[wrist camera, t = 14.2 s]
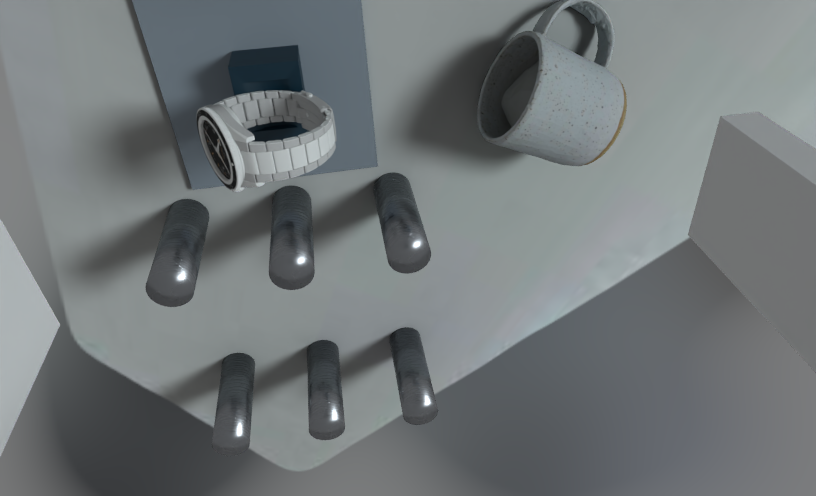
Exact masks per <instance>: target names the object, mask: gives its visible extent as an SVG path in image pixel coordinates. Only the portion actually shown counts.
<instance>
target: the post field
mask: <svg viewBox="0 0 816 496" xmlns="http://www.w3.org/2000/svg"><path fill="white" fill-rule="evenodd" d="M374 196H375V201H376V206H377V211H378V216H379V220H380V225H381V230H382V235H383V240H384V244H385V249H386V254H387V259H388V263H389V265H390V266H391V267H392V268H393V269H394V270H395V271H397V272H400V273H413V272H417V271H419V270H421V269H422V268H424V267H425V266H426V265H427V263H428V262H429V260H430V257H431V250H430V247H429V244H428V241H427V237H426V234H425V231H424V228H423V224H422V221H421V218H420V215H419V211H418V208H417V205H416V202H415V199H414V195H413V192H412V189H411V186H410V183H409V181H408V179H407V178H406V177H405V176H403V175H402V174H399V173H388V174H385V175H383V176H381V177H380V178H379V179H378V180H377V181H376V183H375V185H374ZM208 222H209V213H208V210H207V209H206V207H205V206H204V205H202V204H201V203H200V202H198V201H195V200H191V199H183V200H179V201H177V202H175V203H174V204H173V205H172V206H171V207H170V209H169V212H168V215H167V219H166V222H165V225H164V228H163V232H162V235H161V238H160V241H159V244H158V248H157V251H156V254H155V257H154V260H153V264H152V267H151V270H150V273H149V277H148V280H147V283H146V292H147V294H148V296H149V297H150V298H151V299H152V300H153V301H154V302H156V303H158V304H160V305H163V306H167V307H177V306H181V305H184V304H186V303H187V302H189V301H190V300H191V299H192V297H193V294H194V290H195V285H196V280H197V276H198V271H199V266H200V261H201V256H202V251H203V246H204V242H205V237H206V232H207V227H208ZM269 276H270V279H271V280H272V282H273V283H274V284H275V285H277V286H278V287H280V288H283V289H287V290H296V289H300V288H303V287H305V286H306V285H308V284H309V283H310V282H311V281H312V279H313V277H314V251H313V228H312V206H311V198H310V195H309V194H308V193H307V192H306V191H305V190H304V189H302V188H300V187H297V186H286V187H283V188H281V189H279V190H278V191H277V192H276V193H275V195H274V197H273V205H272V224H271V242H270V261H269ZM390 345H391V351H392V357H393V362H394V368H395V373H396V379H397V384H398V390H399V395H400V401H401V407H402V412H403V417H404V420H405V421H406V422H408V423H410V424H414V425H421V424H425V423H428V422H430V421H432V420H433V419H434V418H435V417H436V416H437V413H438V409H437V405H436V400H435V396H434V392H433V388H432V384H431V379H430V375H429V371H428V367H427V363H426V358H425V354H424V350H423V346H422V342H421V338H420V334H419V332H418V331H417V330H415V329H413V328H401V329H399V330H397V331H395V332H394V333H393V334H392V335H391V337H390ZM307 368H308V410H309V433H310V434H311V436H313V437H314V438H316V439H320V440H330V439H334V438H336V437H338V436H340V435H341V434H342V433H343V432H344V430H345V422H344V410H343V398H342V386H341V374H340V362H339V350H338V347H337V345H336V344H335V343H333V342H331V341H327V340H321V341H317V342H314V343H313V344H311V345H310V346H309V348H308V350H307ZM254 373H255V361H254V359H253V358H252V357H250V356H249V355H247V354H243V353H235V354H231V355H229V356H227V357H226V358H225V359H224V360H223V363H222V370H221V378H220V386H219V394H218V402H217V409H216V417H215V425H214V433H213V440H212V447H213V449H214V450H215V451H216V452H217V453H219V454H222V455H226V456H233V455H238V454H241V453H243V452H245V451H246V450H247V449H248V448H249V444H250V430H251V416H252V401H253V387H254Z"/></svg>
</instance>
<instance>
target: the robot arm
mask: <svg viewBox="0 0 816 496" xmlns="http://www.w3.org/2000/svg"><path fill="white" fill-rule="evenodd" d="M688 235H689V236H690V237H691V239H692V240H693V241H694V242H695V243H696V244H697V245H698V246H699V247H700V248H701V249H702V250H703V251H704V253H705V254H707V256H708V257H709V258H710V259H711V260H712V261H713V262H714V263H715V264H716V266H717V267H718V268H719V269H720V270H721V271H722V272H723V273H724V274H725V275H726V276H727V277H728V278H729V280H730V281H731V282H732V283H733V284H734V285H735V286H736V287H737V288H738V289H739V290H740V291H741V292H742V294H743V295H744V296H745V297H746V298H747V299H748V300H749V301H750V302H751V303H752V304H753V305H754V307H755V308H756V309H757V310H758V311H759V312H760V313H761V314H762V315H763V316H764V317H765V318H766V320H768V322H769V323H770V324H771V325H772V326H773V327H774V328H775V329H776V330H777V331H778V333H780V335H781V336H782V337H783V338H784V339H785V340H786V341H787V342H788V343H789V344H790V346H791V347H792V348H793V349H794V350H795V351H796V352H797V353H798V354H799V355H800V356H801V357H802V358H803V360H804V361H805V362H806V363H807V364H808V365H809V366H810V367H811V368H812V369H813V370H814V371H815V372H816V149H815V148H813V147H812V146H810V145H809V144H807V143H806V142H804V141H803V140H801V139H800V138H798V137H796V136H795V135H793V134H792V133H790V132H789V131H787V130H786V129H784V128H783V127H781V126H780V125H778V124H777V123H775V122H773V121H772V120H770V119H769V118H767V117H766V116H764V115H763V114H761V113H760V112H751V113H743V114H736V115H728V116H720V120H719V124H718V127H717V131H716V135H715V138H714V142H713V145H712V149H711V153H710V156H709V160H708V164H707V167H706V171H705V175H704V178H703V182H702V185H701V189H700V193H699V196H698V200H697V204H696V207H695V211H694V215H693V218H692V222H691V225H690V229H689V233H688ZM59 326H60V324H59V322H58V320H57V318H56V316H55V315H54V313H53V311H52V309H51V308H50V306H49V305H48V303H47V301H46V299H45V297H44V295H43V293H42V292H41V290H40V288H39V286H38V285H37V283H36V281H35V279H34V278H33V276H32V274H31V272H30V271H29V269H28V267H27V265H26V263H25V262H24V260H23V258H22V256H21V254H20V253H19V251H18V249H17V247H16V246H15V244H14V242H13V240H12V239H11V237H10V235H9V233H8V231H7V230H6V228H5V226H4V224H3V223H2V221H1V219H0V456H1V454H2V451H3V449H4V447H5V445H6V443H7V440H8V438H9V436H10V434H11V432H12V429H13V427H14V425H15V423H16V421H17V418H18V416H19V414H20V412H21V410H22V407H23V405H24V403H25V401H26V399H27V396H28V394H29V392H30V390H31V387H32V385H33V383H34V381H35V379H36V377H37V374H38V372H39V370H40V368H41V365H42V363H43V361H44V359H45V357H46V354H47V352H48V350H49V348H50V346H51V343H52V341H53V339H54V336H55V334H56V332H57V330H58V328H59Z"/></svg>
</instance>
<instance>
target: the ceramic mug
mask: <svg viewBox="0 0 816 496" xmlns="http://www.w3.org/2000/svg"><path fill="white" fill-rule="evenodd" d="M569 6H570V7H572V8H574V9H575V10H577V11H578V12H580V13H581V14H583V15H584V16H585V17H587V18H588V20H589V21H590V23H592V24H595V26H596V28H597V33H598V45H597V46H598V50H597V54H596V58H595V61H594V62H592V61H590V60H588V59H586V58H584V57H582V56H580V55H578V54H576V53H574V52H572V51H571V50H569V49H567V48H566V47H564V46H561V45H559V44H557V43H555V42H554V41H552V40H550V39H548V38H547V37H546V33H547V30H548V28H549V26H550V25H551V24H552V22H553V20H554V19H555V18H556V16H557V15H558V14H559V13H560V12H561V11H562V10H563V9H565V8H567V7H569ZM614 37H615V34H614V29H613V25H612V22H611V20H610V17H609V15H608V14H607V12H606V11H605V10H604V9H603V8H602V6H600V5H599V4H598V3H596V2H595V1H593V0H560V1H558V2H556V3H554V4H553V5H551V6H550V7H549V8H547V10H546V11H545V12H544V13H543V14H542V16H541V17H540V19H539V20H538V22H537V24H536V25H535V27H534V29H533V31H525V32H522V33H519V34H518V35H516V36H515V37H513V38H512V39H511V40H510V41H509V42H508V43H507V44H506V45H505V46H504V47H503V48H502V50H501V51H500V52H499V54H498V55H497V57H496V59H495V60H494V62H493V63H492V65H491V67H490V69H489V71H488V73H487V76H486V78H485V80H484V84H483V86H482V89H481V92H480V97H479V102H478V109H477V119H478V126H479V130H480V133H481V135H482V136H483V137H484V139H485V140H487V141H488V142H490V143H492V144H495V145H499V146H502V147H506V148H509V149H512V150H515V151H519V152H522V153H525V154H528V155H532V156H536V157H539V158H542V159H545V160H548V161H551V162H554V163H558V164H562V165H570V166H582V165H587V164H589V163H592V162H594V161H595V160H597V159H598V158H600V157H601V156H602V155H604V154H605V152H606V151H607V150H608V149H609V148H610V147H611V145H612V144H613V143H614V141H615V140H616V138H617V136H618V134H619V133H620V130H621V128H622V126H623V122H624V119H625V115H626V107H627V103H626V92H625V90H624V87H623V84H622V83H621V81H620V80H619V79H618V78H617V77H616V76H615V75H613V74H612V73H611V72H610V71H609V70H607V67H608V65H609V63H610V60H611V57H612V53H613V49H614Z"/></svg>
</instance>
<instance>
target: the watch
mask: <svg viewBox="0 0 816 496" xmlns="http://www.w3.org/2000/svg"><path fill="white" fill-rule="evenodd" d="M228 70H229V75H230V79H231V83H232V88H233V92H234V96H233V97H229V98H226V99H224V100H223V101H220V102H217V103H215V104H213V105H207V106H204V107H202V108H199V109H198V111H197V116H196V118H197V128H198V133H199V137H200V140H201V143H202V146H203V149H204V152H205V154H206V156H207V159H208V161H209V163H210V165H211V167H212V168H213V170H214V172H215V174H216V175H217V177H218V178H219V179H220V181H221V182H222V183H223V184H224V185H225V186H226V187H227V188H228V189H230V190H232V191H233V192H239V191H242V190H243V189H244V187H259V186H262V185H265V183H264V182H271V181H280V180H285V179H288V178H289V177H290V178H293V177H297V176H300V175H302V174H304V172H305V173H308V172H310V171H312V170H314V169H316V168H317V167H318V166H320V165H322V164H323V163H324V162H326V161H327V160H328V159H329V158H330V157H331V156H332V154H333V153H334V151H335V148H336V145H335V144H336V143H335V142H336V127H335V120H334V115H333V110H332V108H331V107H330V106H329V105H328V104H327V103H325V102H324V101H323V100H321V99H320V98H318V97H316V96H315V95H313V94H312V93H308V92H305V87H304V81H303V74H302V68H301V61H300V55H299V48H298V45H291V46H280V47H270V48H259V49H248V50H238V51H232V53H231V57H230V61H229V65H228ZM283 146H284V147H283ZM266 148H267V149H266ZM289 151H290V152H289ZM272 152H273V153H272ZM290 156H291V157H290ZM273 157H274V158H273ZM274 162H275V163H274ZM291 162H292V163H291ZM275 167H276V168H275ZM288 172H289V174H288ZM272 177H273V178H272Z"/></svg>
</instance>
